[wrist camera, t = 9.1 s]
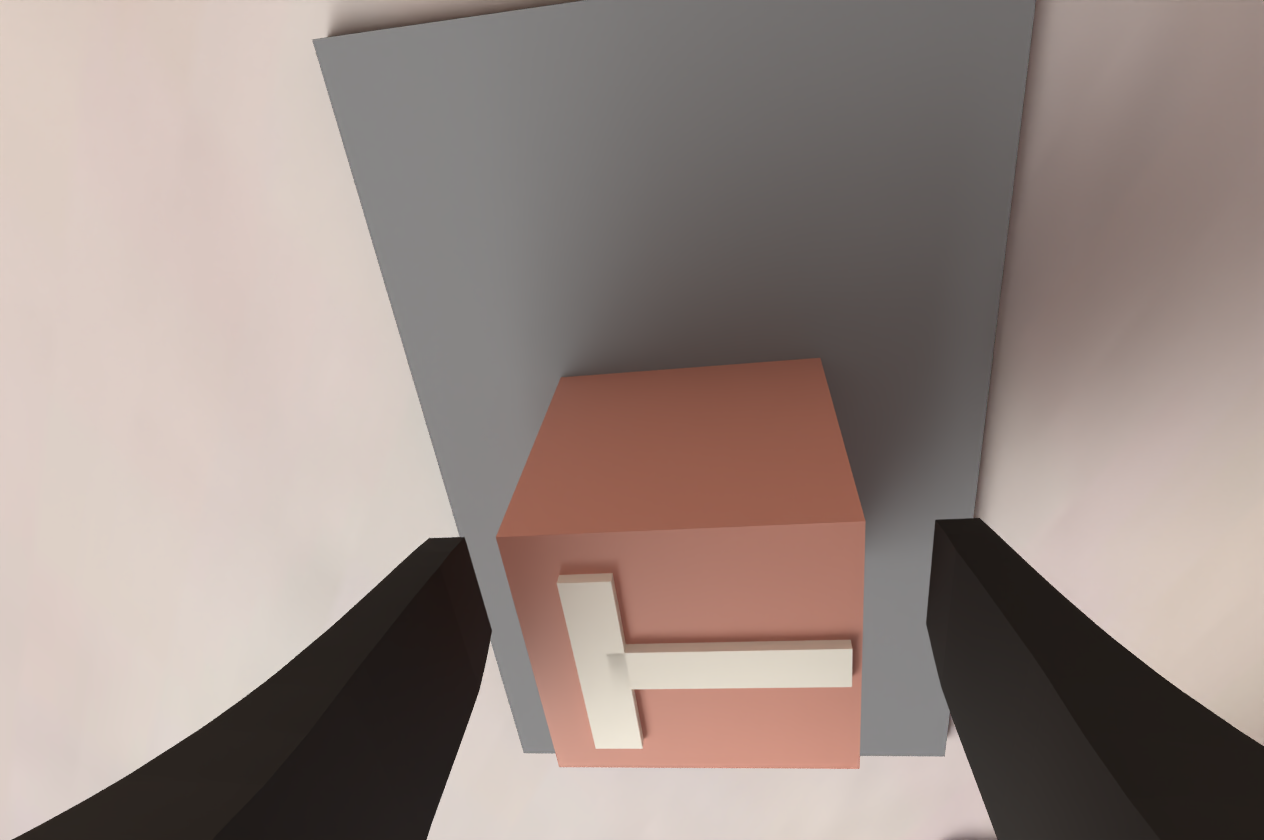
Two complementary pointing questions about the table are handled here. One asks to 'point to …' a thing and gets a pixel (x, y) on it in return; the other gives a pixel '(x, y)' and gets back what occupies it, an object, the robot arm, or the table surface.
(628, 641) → the lettered cube
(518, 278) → the charcoal mat
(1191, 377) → the table surface
